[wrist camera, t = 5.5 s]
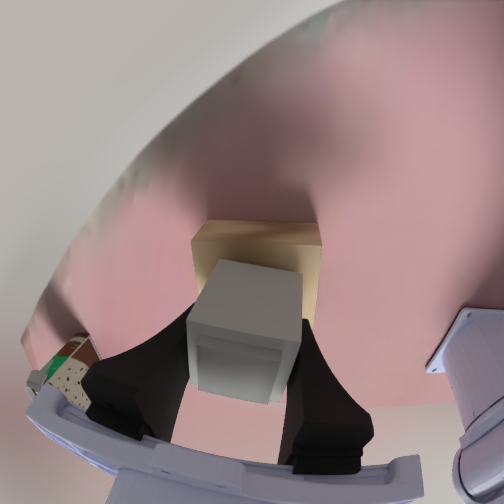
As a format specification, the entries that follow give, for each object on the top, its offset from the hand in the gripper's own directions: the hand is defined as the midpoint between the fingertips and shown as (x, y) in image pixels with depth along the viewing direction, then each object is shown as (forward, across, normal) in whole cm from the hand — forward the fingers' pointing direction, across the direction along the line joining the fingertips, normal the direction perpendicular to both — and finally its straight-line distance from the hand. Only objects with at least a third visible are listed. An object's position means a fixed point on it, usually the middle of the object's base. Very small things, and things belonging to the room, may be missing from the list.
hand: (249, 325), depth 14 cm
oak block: (+6, 0, 0) cm, 6 cm away
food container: (+6, +21, +17) cm, 28 cm away
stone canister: (+2, 0, 0) cm, 2 cm away
